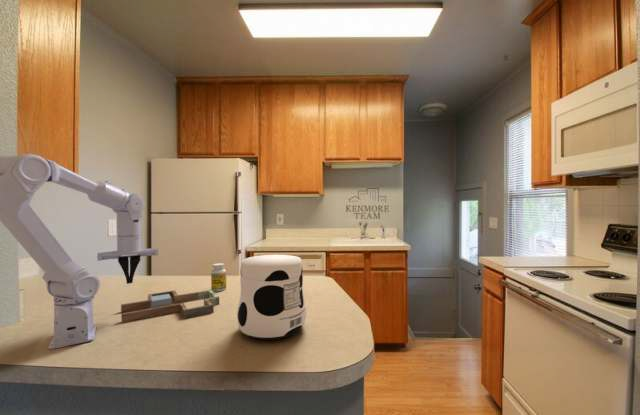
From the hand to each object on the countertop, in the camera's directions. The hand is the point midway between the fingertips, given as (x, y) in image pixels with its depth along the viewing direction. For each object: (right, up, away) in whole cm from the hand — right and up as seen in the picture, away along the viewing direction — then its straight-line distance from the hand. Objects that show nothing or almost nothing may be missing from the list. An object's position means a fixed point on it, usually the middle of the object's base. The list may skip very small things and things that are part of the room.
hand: (129, 282), depth 84 cm
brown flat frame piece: (+9, -9, +6) cm, 14 cm away
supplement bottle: (+17, -9, +26) cm, 32 cm away
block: (+7, -10, +5) cm, 13 cm away
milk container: (+43, -10, -10) cm, 45 cm away
